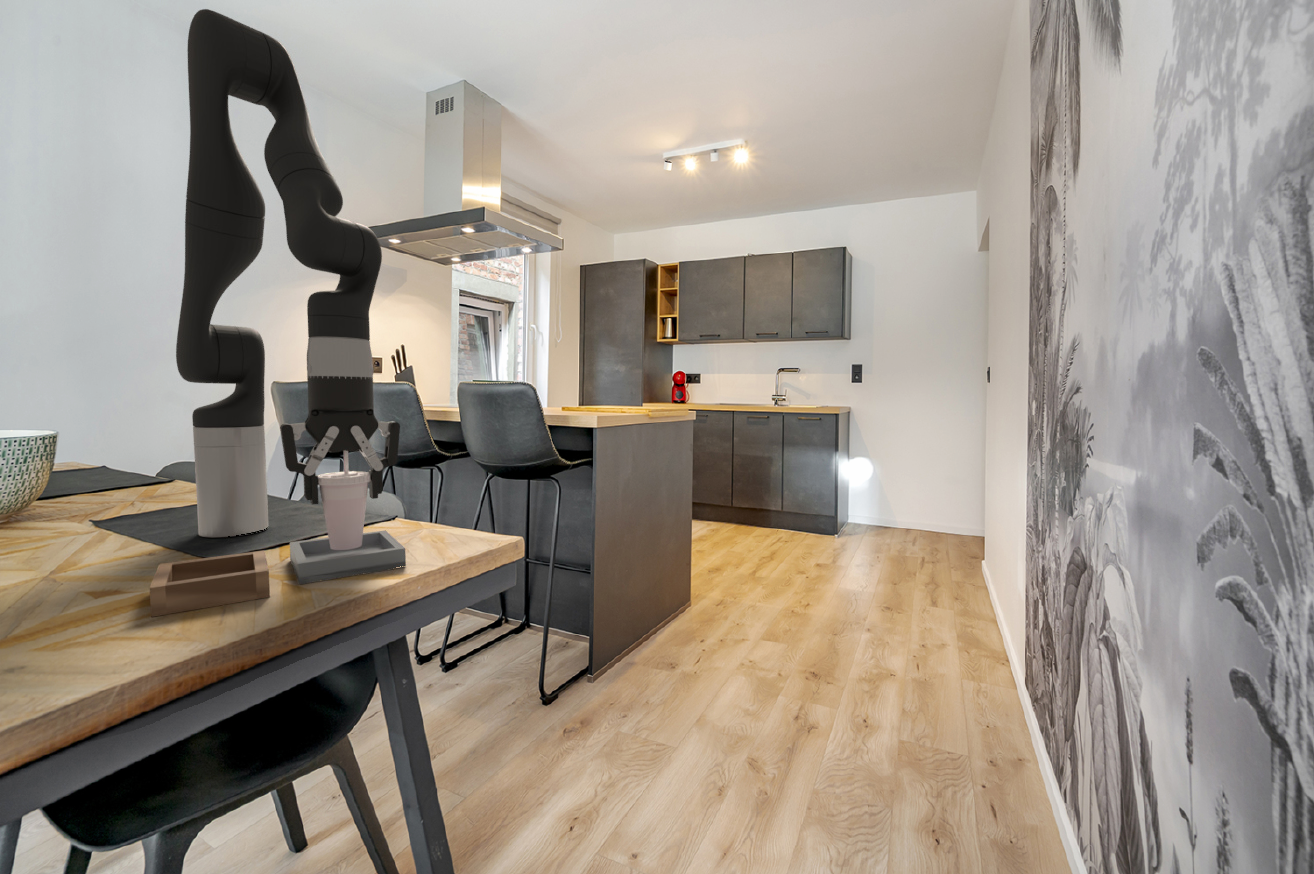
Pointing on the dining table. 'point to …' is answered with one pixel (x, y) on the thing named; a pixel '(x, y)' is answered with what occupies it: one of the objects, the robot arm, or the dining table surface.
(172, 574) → the holder
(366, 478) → the smoothie
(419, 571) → the dining table surface
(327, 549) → the tray
